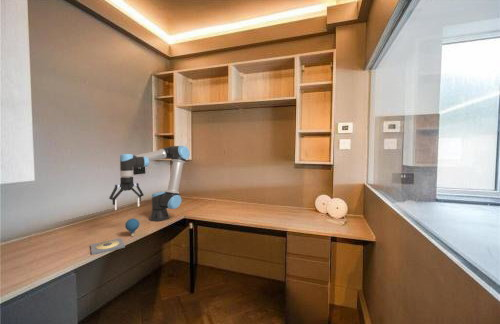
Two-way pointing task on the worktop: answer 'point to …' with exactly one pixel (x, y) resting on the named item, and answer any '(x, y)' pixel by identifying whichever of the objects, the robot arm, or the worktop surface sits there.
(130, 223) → the light bulb
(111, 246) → the socket board
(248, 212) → the worktop surface
